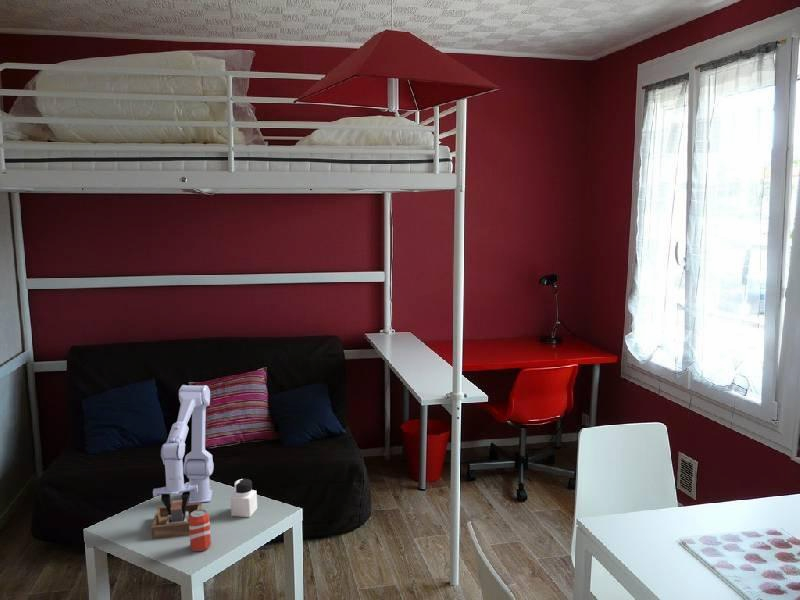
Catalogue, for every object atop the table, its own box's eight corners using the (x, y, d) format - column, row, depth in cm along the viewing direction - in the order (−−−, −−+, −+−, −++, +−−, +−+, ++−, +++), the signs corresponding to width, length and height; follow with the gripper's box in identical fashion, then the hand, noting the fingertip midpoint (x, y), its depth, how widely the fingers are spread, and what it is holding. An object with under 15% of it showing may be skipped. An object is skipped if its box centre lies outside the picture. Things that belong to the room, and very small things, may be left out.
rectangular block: (173, 520, 233) (172, 501, 232) (183, 518, 234) (182, 499, 233) (171, 526, 228) (170, 507, 227) (182, 525, 229) (181, 506, 228)
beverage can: (205, 540, 221) (203, 506, 219) (214, 547, 216) (212, 513, 214) (187, 547, 217) (185, 512, 215) (196, 554, 212) (194, 519, 210)
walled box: (158, 517, 237) (157, 507, 236) (202, 513, 240) (201, 502, 239) (151, 538, 222) (151, 527, 222) (198, 533, 225) (197, 522, 225)
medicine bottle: (257, 508, 243) (256, 477, 241) (250, 517, 236) (248, 485, 234) (239, 507, 244) (237, 476, 242) (231, 516, 237) (229, 484, 235)
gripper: (150, 482, 223) (153, 520, 225) (195, 478, 226) (197, 516, 228) (153, 474, 230) (156, 511, 232) (197, 470, 232) (199, 506, 235)
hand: (177, 513), depth 230 cm, fingers open, 4 cm apart
